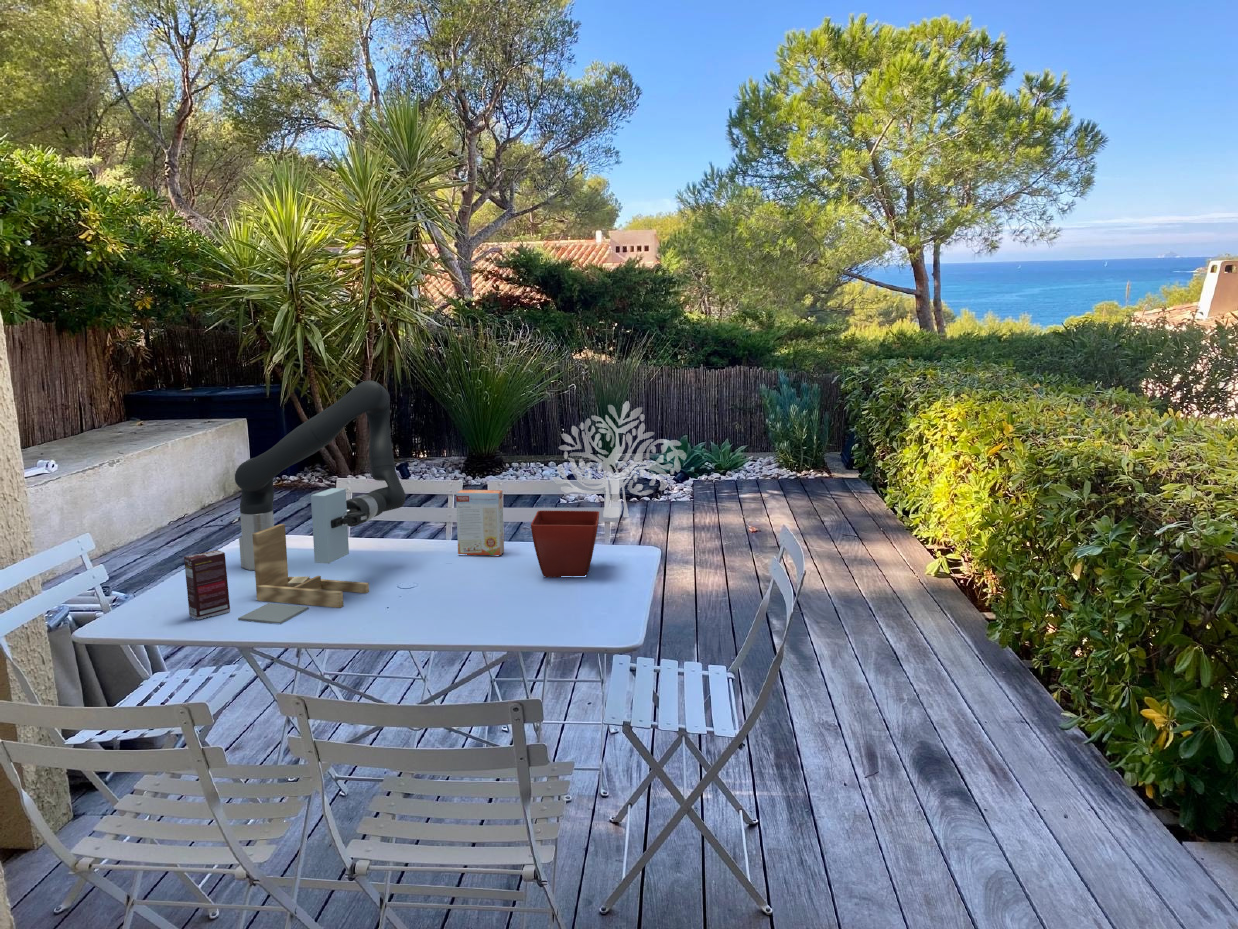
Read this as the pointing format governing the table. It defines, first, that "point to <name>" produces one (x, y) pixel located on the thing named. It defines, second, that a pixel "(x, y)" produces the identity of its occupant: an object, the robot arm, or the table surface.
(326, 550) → the upright blue-grey block
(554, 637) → the table surface
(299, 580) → the offcut slab upper
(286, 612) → the mat
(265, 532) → the frame
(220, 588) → the supplement box
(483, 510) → the cracker box
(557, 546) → the plant pot
